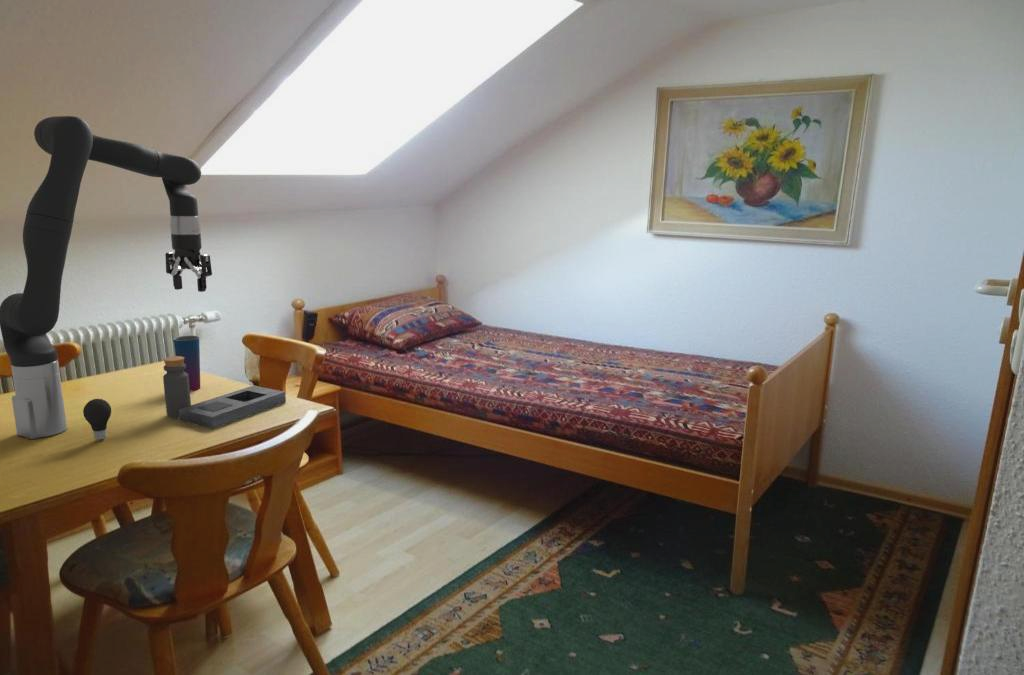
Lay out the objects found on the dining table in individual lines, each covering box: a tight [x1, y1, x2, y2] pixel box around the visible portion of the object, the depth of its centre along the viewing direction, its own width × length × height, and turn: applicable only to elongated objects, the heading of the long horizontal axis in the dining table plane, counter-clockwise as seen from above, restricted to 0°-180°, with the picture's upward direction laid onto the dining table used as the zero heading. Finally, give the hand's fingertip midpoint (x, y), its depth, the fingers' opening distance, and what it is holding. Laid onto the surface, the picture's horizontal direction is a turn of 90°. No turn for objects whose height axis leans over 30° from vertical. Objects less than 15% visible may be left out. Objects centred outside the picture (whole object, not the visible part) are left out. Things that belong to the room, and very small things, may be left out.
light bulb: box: [82, 398, 112, 442], centre depth 165 cm, size 6×6×10 cm
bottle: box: [162, 355, 192, 419], centre depth 183 cm, size 6×6×15 cm
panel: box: [179, 385, 287, 430], centre depth 187 cm, size 24×12×3 cm, turn 152°
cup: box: [173, 335, 201, 392], centre depth 205 cm, size 7×7×15 cm
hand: (190, 290), depth 202 cm, fingers open, 8 cm apart
